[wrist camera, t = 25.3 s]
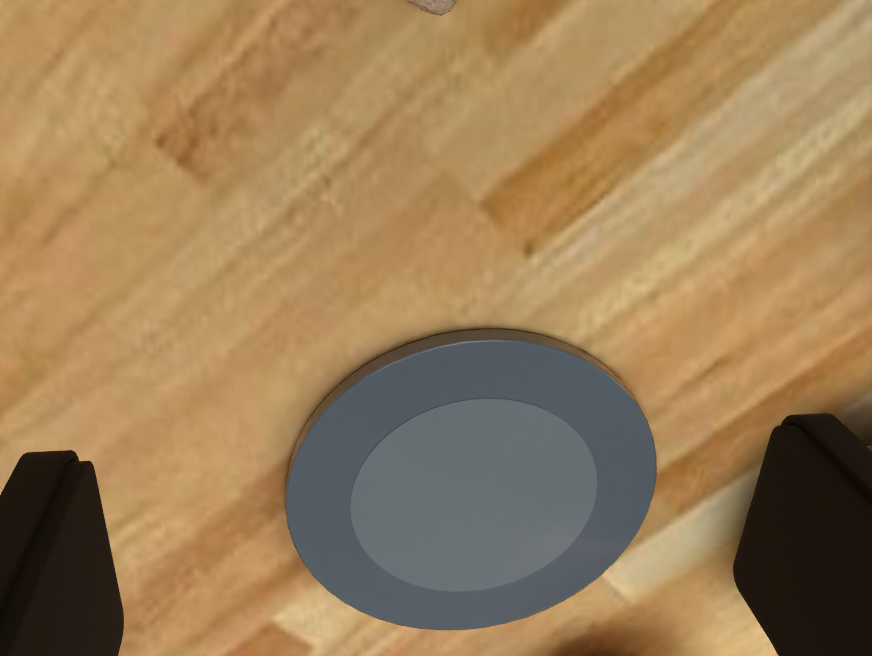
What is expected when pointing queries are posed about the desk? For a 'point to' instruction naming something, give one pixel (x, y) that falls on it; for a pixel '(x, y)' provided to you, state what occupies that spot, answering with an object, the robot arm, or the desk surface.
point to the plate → (470, 480)
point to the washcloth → (434, 5)
